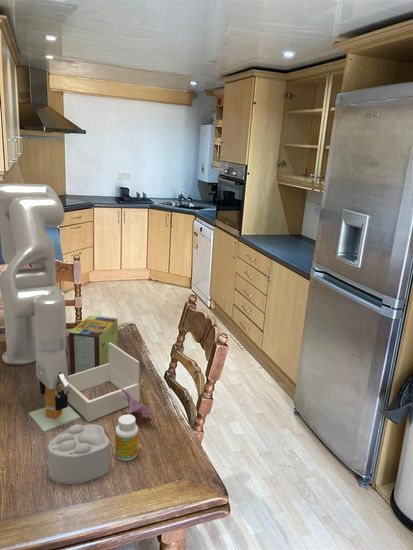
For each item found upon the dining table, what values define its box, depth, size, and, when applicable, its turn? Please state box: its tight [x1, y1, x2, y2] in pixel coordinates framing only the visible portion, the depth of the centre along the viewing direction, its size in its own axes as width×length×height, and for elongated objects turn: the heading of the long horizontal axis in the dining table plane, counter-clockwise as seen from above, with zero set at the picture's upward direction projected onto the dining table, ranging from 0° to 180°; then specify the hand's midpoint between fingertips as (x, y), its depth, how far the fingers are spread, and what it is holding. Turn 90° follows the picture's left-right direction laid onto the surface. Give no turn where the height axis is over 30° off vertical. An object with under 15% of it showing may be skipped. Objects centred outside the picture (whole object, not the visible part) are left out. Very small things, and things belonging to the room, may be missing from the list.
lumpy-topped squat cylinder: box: [47, 423, 111, 485], centre depth 98 cm, size 10×13×9 cm
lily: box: [118, 387, 156, 420], centre depth 117 cm, size 12×12×10 cm
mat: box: [28, 404, 81, 433], centre depth 117 cm, size 10×10×1 cm
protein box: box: [68, 315, 119, 376], centre depth 142 cm, size 10×15×16 cm
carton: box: [68, 343, 141, 423], centre depth 125 cm, size 16×16×13 cm
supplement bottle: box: [114, 413, 139, 462], centre depth 103 cm, size 5×5×10 cm
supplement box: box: [45, 382, 62, 419], centre depth 116 cm, size 3×3×10 cm
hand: (53, 400), depth 116 cm, fingers open, 9 cm apart
